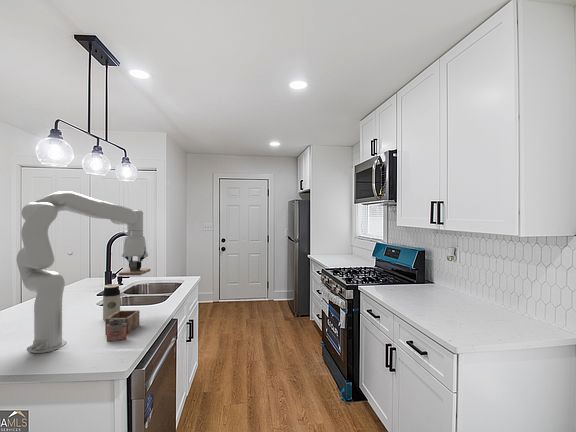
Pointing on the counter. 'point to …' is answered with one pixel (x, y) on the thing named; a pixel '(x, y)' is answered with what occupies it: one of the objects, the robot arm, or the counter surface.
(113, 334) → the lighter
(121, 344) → the counter surface
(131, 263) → the lid
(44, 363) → the counter surface
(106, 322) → the box
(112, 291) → the travel mug
